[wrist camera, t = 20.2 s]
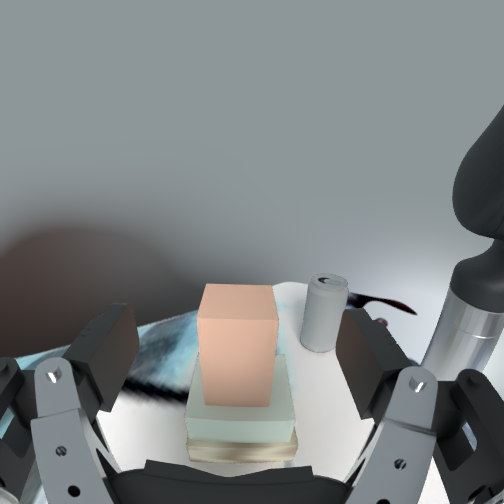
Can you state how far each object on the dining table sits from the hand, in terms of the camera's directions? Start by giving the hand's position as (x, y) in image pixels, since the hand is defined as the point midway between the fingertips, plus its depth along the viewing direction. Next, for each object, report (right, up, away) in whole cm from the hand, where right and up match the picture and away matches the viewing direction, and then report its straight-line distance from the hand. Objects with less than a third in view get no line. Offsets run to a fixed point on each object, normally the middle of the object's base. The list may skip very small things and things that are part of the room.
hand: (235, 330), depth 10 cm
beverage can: (+12, -13, +35) cm, 39 cm away
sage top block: (-1, -14, +17) cm, 22 cm away
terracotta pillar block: (-1, -11, +16) cm, 19 cm away
